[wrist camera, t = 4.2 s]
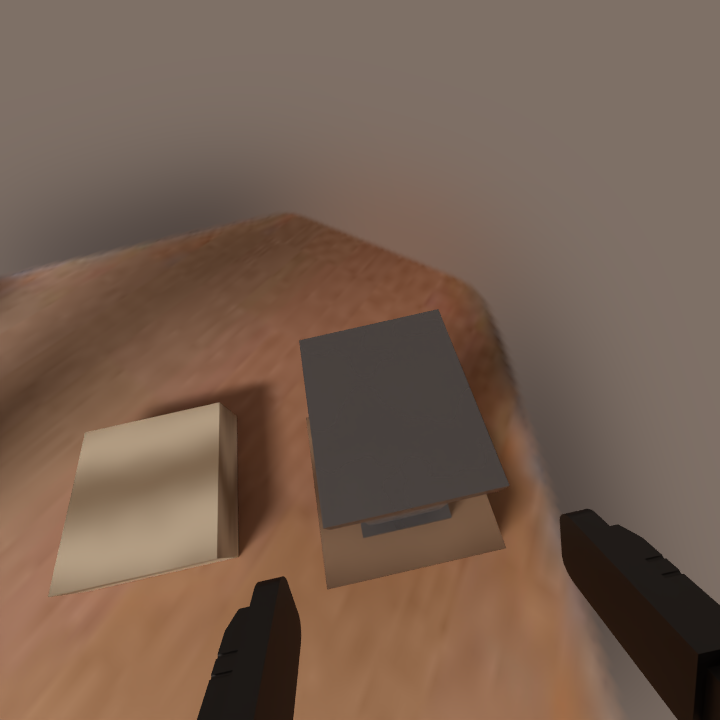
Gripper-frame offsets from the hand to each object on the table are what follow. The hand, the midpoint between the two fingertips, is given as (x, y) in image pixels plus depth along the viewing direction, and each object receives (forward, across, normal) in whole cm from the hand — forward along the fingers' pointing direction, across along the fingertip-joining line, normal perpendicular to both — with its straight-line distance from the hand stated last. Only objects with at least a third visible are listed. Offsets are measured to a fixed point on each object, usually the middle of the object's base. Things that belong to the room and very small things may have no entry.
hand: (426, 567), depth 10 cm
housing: (+10, 0, +4) cm, 11 cm away
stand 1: (+14, +16, +4) cm, 22 cm away
